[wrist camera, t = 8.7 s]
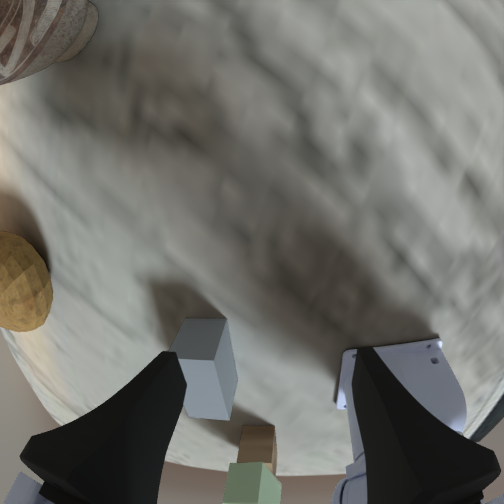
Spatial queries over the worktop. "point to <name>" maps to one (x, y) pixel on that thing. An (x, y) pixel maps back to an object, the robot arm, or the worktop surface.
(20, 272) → the potato
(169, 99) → the worktop surface
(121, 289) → the worktop surface
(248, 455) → the walnut brick
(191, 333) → the slate brick
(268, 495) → the green brick
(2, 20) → the pottery
